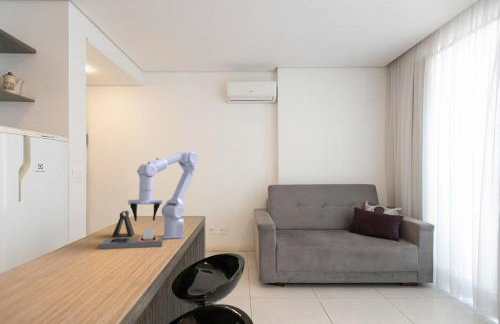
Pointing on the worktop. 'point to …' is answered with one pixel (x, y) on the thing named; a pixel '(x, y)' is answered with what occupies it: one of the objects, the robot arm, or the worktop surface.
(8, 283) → the worktop surface
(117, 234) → the phone stand
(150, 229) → the block
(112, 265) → the worktop surface
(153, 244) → the rail plate
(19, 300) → the worktop surface
